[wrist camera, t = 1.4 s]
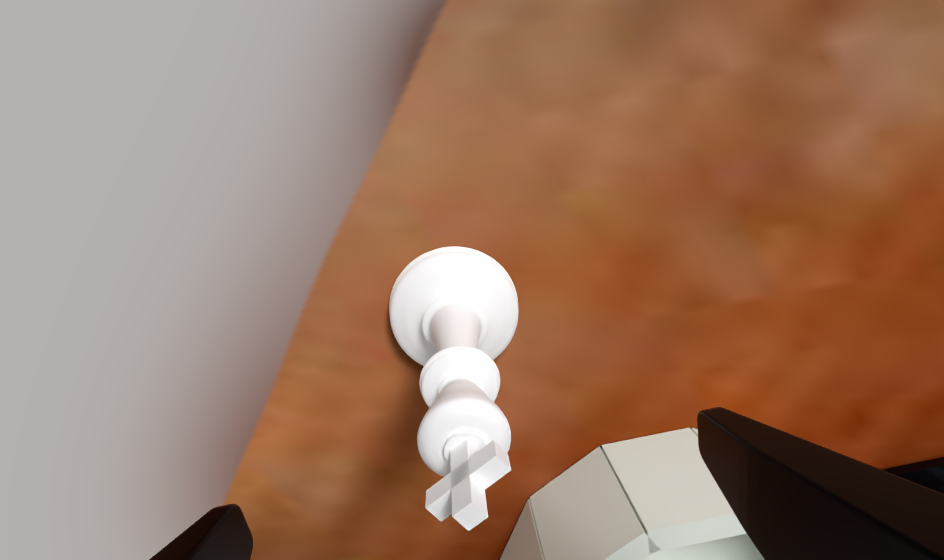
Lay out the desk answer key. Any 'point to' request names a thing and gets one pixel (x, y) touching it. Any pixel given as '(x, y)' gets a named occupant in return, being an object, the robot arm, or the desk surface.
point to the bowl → (632, 508)
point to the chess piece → (458, 371)
